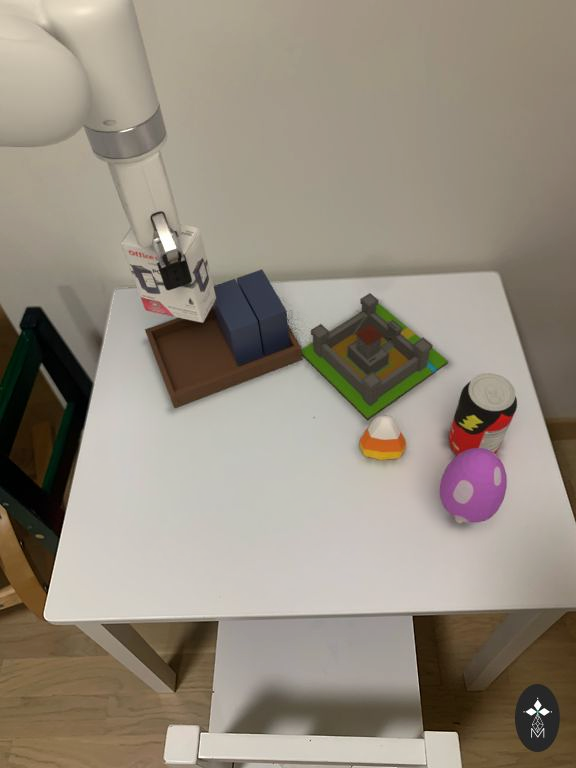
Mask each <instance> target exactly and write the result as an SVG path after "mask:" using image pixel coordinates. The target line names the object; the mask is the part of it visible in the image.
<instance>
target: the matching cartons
mask: <svg viewBox="0 0 576 768" xmlns="http://www.w3.org/2000/svg"><path fill="white" fill-rule="evenodd" d="M213 286H214V291H215V295H216V300H215V301H214V303H213V305H212V306H213V307H214V311H215V315H216V319H217V323H218V326H219V328H220V330H221V332H222V334H223V336H224V338H225V340H226V343H227V345H228V347H229V349H230V351H231V353H232V355H233V357H234V359H235V361H236V363H237V366H238V367H240V366H242V365H245V364H248V363H250V362H253V361H255V360H258V359H261V358H263V357H264V356H265V357H266V356H269V355H271V354H274V353H277V352H279V351H282V350H285V349H287V348H290V341H289V331H288V325H289V322H288V314H287V310H286V307H285V306H284V304H283V302H282V301H281V299H280V297H279V296H278V294H277V292H276V290H275V289H274V287H273V285H272V284H271V281H270V280H269V279H268V277H267V275H266V273H265V271H264V270H263V269H259V270H255V271H253V272H250V273H247V274H244V275H241V276H239V277H236V278H233V279H232V278H231V279H230V280H226V281H224V282H221V283H217V284H216V285H213ZM263 354H264V356H263Z"/></svg>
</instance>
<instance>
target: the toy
mask: <svg viewBox="0 0 576 768" xmlns="http://www.w3.org/2000/svg"><path fill="white" fill-rule="evenodd" d="M507 478H508V477H507V472H506V469H505V466H504V463H503V462H502V460H501V459H500V457H498V456H497V453H496V454H494V453H493V452H492V451H490V450H487V449H484V448H473V449H468V450H466V451H464V452H462V453H460V454H459V455H457V454H456V456H455V457H454V458H453V459H452V460H450V462H449V464H447V466H446V467H445V469H444V471H443V474H442V475H441V478H440V482H439V488H438V493H439V499H440V503H441V505H442V506H443V507H444V509H445V511H447V513H448V514H450V516H452V517H453V518H454V521H455V523H458V524H462V523H469V524H477V523H482V522H486V521H488V520H490V519H491V518H492V517H493V516H494V515H495V514H497V512H498V511H499V509H500V508H501V506H502V503H503V502H504V500H505V497H506V492H507V488H508V487H507V486H508V479H507Z"/></svg>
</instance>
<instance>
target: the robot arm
mask: <svg viewBox="0 0 576 768" xmlns="http://www.w3.org/2000/svg"><path fill="white" fill-rule="evenodd" d="M82 129H84V132H85V136H86V137H87V140H88V143H89V145H90V148H91V151H92V153H93V156H95V157H96V158H97V159H99V160H100V161H102V162H105V163H107V167H108V170H109V173H110V176H111V178H112V182H113V184H114V187H115V190H116V192H117V195H118V198H119V200H120V203H121V206H122V209H123V211H124V214H125V216H126V219H127V222H128V225H129V226H130V228H131V229H132V231H133V234H134V236H135V238H136V241H137V243H138V245H139V246H140V247H142V248H144V249H145V248H146V247H150V246H152V245H153V247H154V250H155V253H156V255H157V258H158V261H159V262H158V263H157V265H158V268H159V271H160V274H161V277H162V280H163V283H164V286H165V288H166V290H172V289H175V288H178V287H181V286H183V285H186V284H189V283H191V282H192V278H191V274H190V271H189V267H188V264H187V260H186V257H185V255H184V254H183V252H182V249H181V247H180V244H179V241H178V238H177V237H179V236H180V234H181V227H180V224H181V223H180V218H179V215H178V210H177V206H176V201H175V199H174V195H173V190H172V187H171V184H170V181H169V176H168V174H167V170H166V167H165V163H164V160H163V157H162V152H161V149H163V147H164V146H165V144H166V143H167V140H168V132H167V129H166V124H165V119H164V115H163V113H162V108H161V105H160V101H159V97H158V94H157V91H156V86H155V81H154V78H153V75H152V70H151V66H150V62H149V59H148V55H147V51H146V48H145V43H144V39H143V36H142V32H141V28H140V25H139V21H138V17H137V13H136V8H135V5H134V2H133V0H0V147H3V148H4V147H5V148H40V147H42V148H43V147H48V146H53V145H58V144H60V143H62V142H65V141H68V140H69V139H71V138H72V137H74V136H75V135H76V134H78V132H79V131H80V130H82ZM168 227H169V228H170V230H169V228H168ZM155 231H157V233H158V236H159V237H158V238H155V239H154V237H153V236H154V232H155ZM170 231H171V233H170ZM159 243H162V246H163V249H164V252H165V254H163V256H162V254H161V251H160V249H159V246H158V244H159Z"/></svg>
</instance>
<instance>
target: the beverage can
mask: <svg viewBox="0 0 576 768" xmlns="http://www.w3.org/2000/svg"><path fill="white" fill-rule="evenodd" d="M516 395H517V394H516V389H515V387H514V385H513V384H512V382H511V381H510V380H509V379H508V378H506V377H504V376H503V375H500V374H497V373H493V372H485V373H480V374H478V375H476V376H474V377H473V378H472V379H471V380H470V381H469V382H468V383H467V384H465V385H464V387H463V388H462V389H461V392H460V395H459V399H458V402H457V406H456V409H455V412H454V415H453V419H452V422H451V426H450V429H449V432H448V442H449V446H450V448H451V449H452V450H453V452H454V454H456V456H457V455H459V454H460V453H462V452H464V451H466V450H468V449H473V448H484V449H487V450H490V451H492V452H493V453H494V454H496V455H497V453H498V451H499V449H500V447H501V445H502V443H503V440H504V438H505V436H506V434H507V432H508V429H509V427H510V425H511V423H512V421H513V418H514V416H515V414H516V412H517V408H518V400H517V399H518V398H517V396H516Z"/></svg>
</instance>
